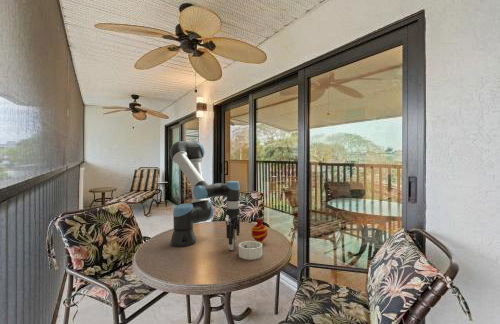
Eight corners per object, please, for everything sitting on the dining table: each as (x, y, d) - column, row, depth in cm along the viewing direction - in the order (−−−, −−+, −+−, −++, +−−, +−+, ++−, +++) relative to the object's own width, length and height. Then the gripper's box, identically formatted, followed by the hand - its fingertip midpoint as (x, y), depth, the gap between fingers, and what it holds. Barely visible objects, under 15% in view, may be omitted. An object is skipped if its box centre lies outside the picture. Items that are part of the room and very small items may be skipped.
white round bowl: (234, 257, 134) (234, 246, 134) (244, 249, 145) (244, 239, 145) (256, 261, 129) (256, 250, 129) (265, 252, 140) (265, 242, 140)
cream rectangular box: (229, 248, 147) (229, 229, 147) (231, 247, 149) (231, 228, 148) (235, 249, 145) (235, 230, 145) (236, 248, 147) (236, 229, 147)
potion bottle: (266, 245, 151) (266, 220, 151) (249, 244, 154) (249, 219, 153) (268, 240, 162) (268, 216, 161) (252, 239, 164) (252, 216, 164)
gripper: (231, 211, 137) (232, 254, 137) (245, 205, 153) (245, 244, 153) (219, 210, 140) (220, 252, 140) (234, 204, 156) (234, 242, 156)
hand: (233, 248), depth 147 cm, fingers open, 4 cm apart
